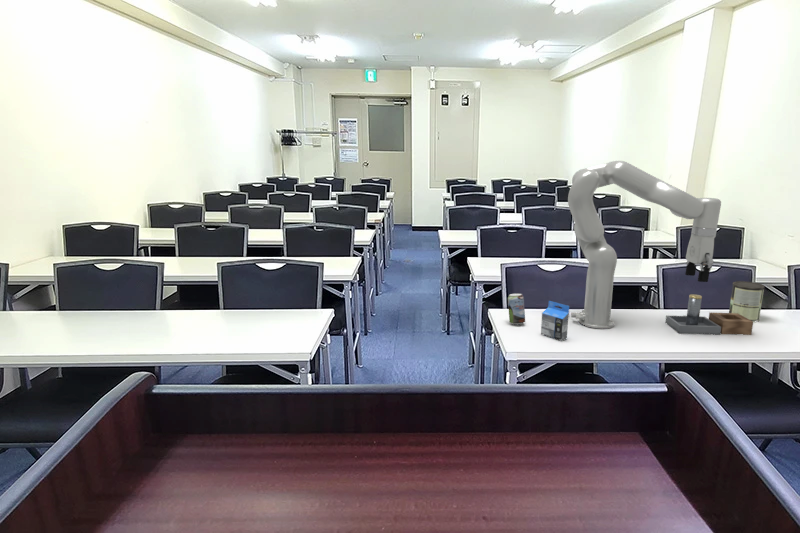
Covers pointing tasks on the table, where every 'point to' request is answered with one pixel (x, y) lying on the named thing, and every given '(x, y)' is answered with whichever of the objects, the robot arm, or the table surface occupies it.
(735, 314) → the block
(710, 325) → the tray
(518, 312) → the beverage can
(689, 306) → the steel pin
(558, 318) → the label tape cartridge
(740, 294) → the coffee can
